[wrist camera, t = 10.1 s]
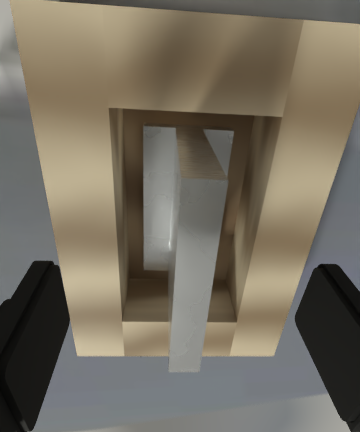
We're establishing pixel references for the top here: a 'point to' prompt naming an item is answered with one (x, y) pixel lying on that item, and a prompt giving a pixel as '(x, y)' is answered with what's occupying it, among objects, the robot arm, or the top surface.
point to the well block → (184, 115)
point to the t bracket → (185, 225)
